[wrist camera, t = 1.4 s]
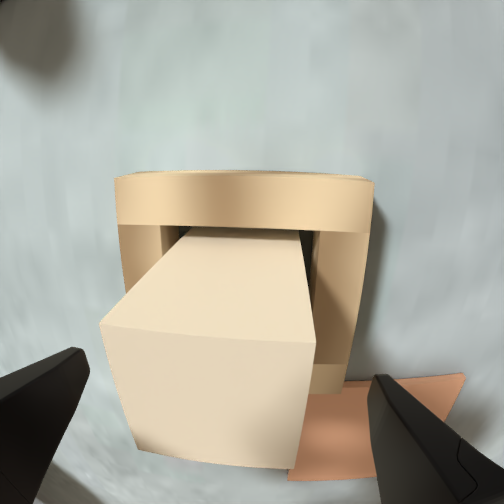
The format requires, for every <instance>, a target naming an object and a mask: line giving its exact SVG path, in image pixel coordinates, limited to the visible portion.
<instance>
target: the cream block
mask: <svg viewBox="0 0 504 504" xmlns="http://www.w3.org/2000/svg"><path fill="white" fill-rule="evenodd" d="M99 326H100V330H101V334H102V338H103V342H104V346H105V350H106V354H107V358H108V361H109V365H110V368H111V372H112V375H113V379H114V382H115V385H116V389H117V392H118V395H119V398H120V401H121V404H122V407H123V410H124V413H125V416H126V419H127V421H128V424H129V427H130V430H131V432H132V435H133V438H134V440H135V443H136V445H137V448H138V450H142V451H147V452H151V453H156V454H161V455H166V456H171V457H176V458H182V459H188V460H194V461H200V462H207V463H215V464H223V465H233V466H243V467H256V468H274V469H294V466H295V462H296V457H297V452H298V447H299V442H300V437H301V432H302V426H303V421H304V416H305V410H306V404H307V399H308V393H309V387H310V380H311V374H312V368H313V361H314V354H315V347H316V338H315V331H314V324H313V317H312V310H311V303H310V297H309V291H308V284H307V278H306V272H305V266H304V260H303V254H302V248H301V242H300V236H299V231H298V230H282V229H257V228H227V227H192V228H191V229H190V230H189V231H188V232H187V233H186V234H185V235H184V236H183V237H182V238H181V239H180V240H179V241H178V242H177V243H176V244H175V245H174V246H173V247H172V248H171V249H170V250H169V251H168V252H167V253H166V254H165V255H164V256H163V257H162V258H161V259H160V260H159V261H158V262H157V263H156V264H155V265H154V266H153V267H152V268H151V269H150V270H149V271H148V272H147V273H146V274H145V275H144V276H143V277H142V278H141V279H140V280H139V281H138V282H137V283H136V284H135V285H134V286H133V287H132V288H131V289H130V290H129V292H128V293H127V294H126V295H125V296H124V297H123V298H122V299H121V300H120V301H119V302H118V303H117V304H116V305H115V306H114V307H113V308H112V310H111V311H110V312H109V313H108V314H107V315H106V316H105V317H104V318H103V319H102V320H101V321H100V323H99Z"/></svg>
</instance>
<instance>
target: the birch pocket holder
mask: <svg viewBox="0 0 504 504" xmlns="http://www.w3.org/2000/svg"><path fill="white" fill-rule="evenodd" d="M114 182H115V198H116V212H117V223H118V234H119V243H120V252H121V260H122V268H123V276H124V283H125V289H126V294H127V293H128V292H129V290H130V289H131V288H132V287H133V286H134V285H135V284H136V283H137V282H138V281H139V280H140V279H141V278H142V277H143V276H144V275H145V274H146V273H147V272H148V271H149V270H150V269H151V268H152V267H153V266H154V265H155V264H156V263H157V262H158V261H159V260H160V259H161V258H162V257H163V256H164V255H165V254H166V253H167V252H168V251H169V250H170V249H171V248H172V247H173V246H174V245H175V244H176V243H177V242H178V241H179V226H213V227H244V228H271V229H295V230H313V244H312V257H311V270H310V281H309V297H310V303H311V310H312V317H313V324H314V331H315V338H316V347H315V354H314V361H313V368H312V374H311V380H310V387H309V393H308V394H341V391H342V387H343V383H344V379H345V375H346V370H347V366H348V361H349V357H350V352H351V347H352V343H353V338H354V333H355V327H356V322H357V317H358V311H359V305H360V299H361V293H362V287H363V281H364V274H365V267H366V260H367V252H368V244H369V236H370V227H371V217H372V207H373V196H374V182H372V181H370V180H367V179H365V178H363V177H361V176H352V175H339V174H323V173H306V172H283V171H248V170H183V171H148V172H136V173H132V174H128V175H124V176H120V177H116V178H114Z"/></svg>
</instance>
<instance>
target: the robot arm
mask: <svg viewBox="0 0 504 504" xmlns="http://www.w3.org/2000/svg"><path fill="white" fill-rule="evenodd" d="M89 374H90V368H89V364H88V361H87V358H86V355H85V352H84V350H83V349H81V348H76V347H70V348H68V349H66V350H63V351H61V352H59V353H57V354H54V355H52V356H50V357H47V358H45V359H43V360H40V361H38V362H36V363H34V364H31V365H29V366H27V367H24V368H22V369H20V370H17V371H15V372H13V373H10V374H8V375H6V376H3V377H1V378H0V504H33V502H34V500H35V497H36V495H37V492H38V490H39V488H40V485H41V483H42V481H43V478H44V476H45V474H46V472H47V469H48V467H49V465H50V463H51V461H52V458H53V456H54V454H55V452H56V450H57V448H58V446H59V443H60V441H61V439H62V437H63V435H64V433H65V431H66V429H67V427H68V425H69V423H70V421H71V419H72V417H73V415H74V413H75V411H76V408H77V406H78V403H79V401H80V398H81V395H82V393H83V390H84V388H85V385H86V382H87V380H88V377H89ZM367 407H368V418H369V430H370V442H371V449H372V454H373V459H374V464H375V469H376V475H377V480H378V486H379V491H380V497H381V503H382V504H504V469H503V468H502V467H500V466H499V465H497V464H496V463H494V462H493V461H491V460H490V459H489V458H487V457H486V456H484V455H483V454H482V453H480V452H479V451H478V450H477V449H475V448H474V447H473V446H472V445H470V444H469V443H468V442H467V441H466V440H464V439H463V438H461V436H460V435H458V434H457V433H456V432H455V431H454V430H453V429H451V428H450V427H449V426H448V425H447V424H445V423H444V422H443V421H442V420H441V419H440V418H438V417H437V416H436V415H435V414H434V413H433V412H431V411H430V410H429V409H428V408H427V407H426V406H424V405H423V404H422V403H421V402H420V401H419V400H417V399H416V398H415V397H414V396H413V395H411V394H410V393H409V392H408V391H407V390H406V389H404V388H403V387H402V386H401V385H400V384H399V383H397V382H396V381H395V380H394V379H393V378H392V377H390V376H389V375H388V374H376V375H374V377H373V379H372V382H371V385H370V389H369V392H368V395H367Z"/></svg>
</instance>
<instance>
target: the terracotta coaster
mask: <svg viewBox="0 0 504 504" xmlns="http://www.w3.org/2000/svg"><path fill="white" fill-rule="evenodd" d="M465 379H466V377H465V376H464V374H463V373H457V374H449V375H440V376H430V377H420V378H407V379H394V380H395V381H396V382H397V383H399V384H400V385H401V386H402V387H403V388H404V389H406V390H407V391H408V392H409V393H410V394H411V395H413V396H414V397H415V398H416V399H417V400H419V401H420V402H421V403H422V404H423V405H424V406H426V407H427V408H428V409H429V410H430V411H431V412H433V413H434V414H435V415H436V416H437V417H438V418H440V419H441V420H442V421H443V422H444V421H445V420H446V418H447V416H448V414H449V412H450V410H451V408H452V406H453V404H454V402H455V400H456V398H457V396H458V394H459V392H460V390H461V388H462V386H463V384H464V381H465ZM371 382H372V381H344V383H343V387H342V391H341V394H308V399H307V404H306V410H305V416H304V421H303V426H302V432H301V437H300V442H299V447H298V452H297V457H296V462H295V466H294V469H289V470H288V480H287V481H320V480H343V479H357V478H368V477H377V475H376V469H375V464H374V459H373V454H372V449H371V442H370V430H369V418H368V407H367V395H368V392H369V389H370V385H371Z"/></svg>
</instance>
